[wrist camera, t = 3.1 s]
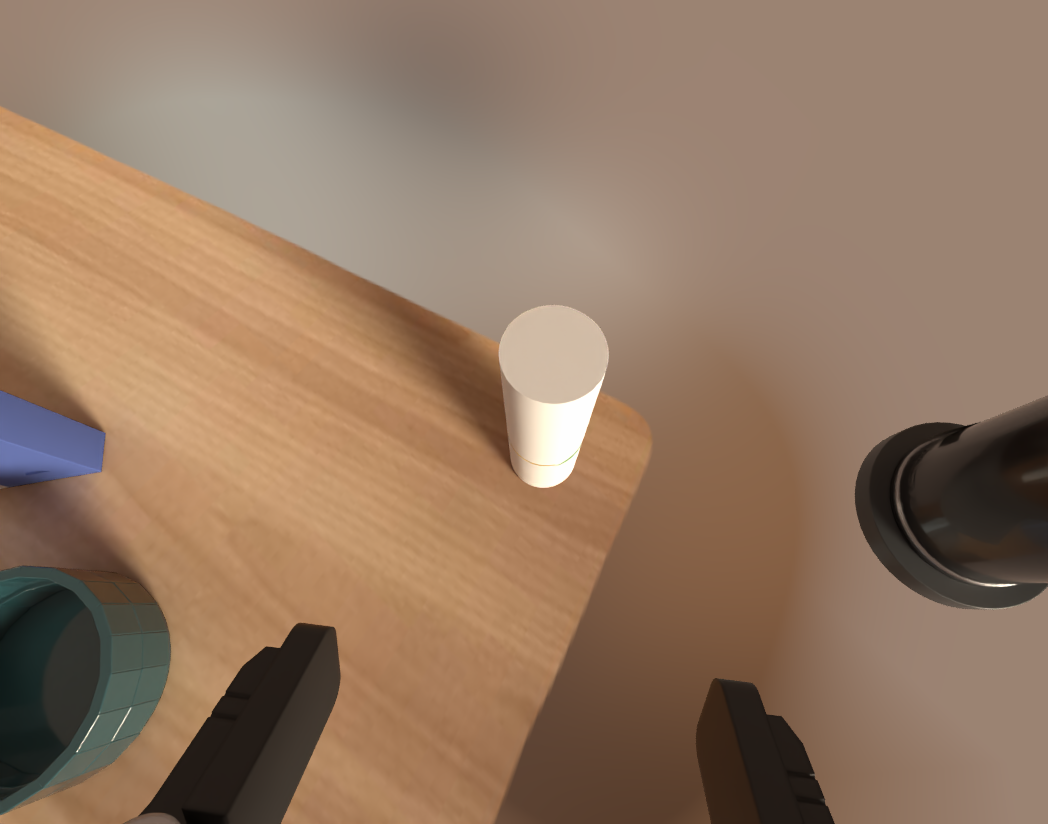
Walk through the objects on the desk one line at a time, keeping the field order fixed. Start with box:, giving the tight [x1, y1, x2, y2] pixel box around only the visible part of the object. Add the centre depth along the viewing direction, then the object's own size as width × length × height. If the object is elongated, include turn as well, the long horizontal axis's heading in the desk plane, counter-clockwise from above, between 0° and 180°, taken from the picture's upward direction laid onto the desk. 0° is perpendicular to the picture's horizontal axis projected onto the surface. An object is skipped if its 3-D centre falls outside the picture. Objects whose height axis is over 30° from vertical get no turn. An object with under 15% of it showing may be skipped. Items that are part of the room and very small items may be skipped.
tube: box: [499, 305, 609, 488], centre depth 27 cm, size 4×4×15 cm
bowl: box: [0, 566, 171, 815], centre depth 28 cm, size 11×11×5 cm
